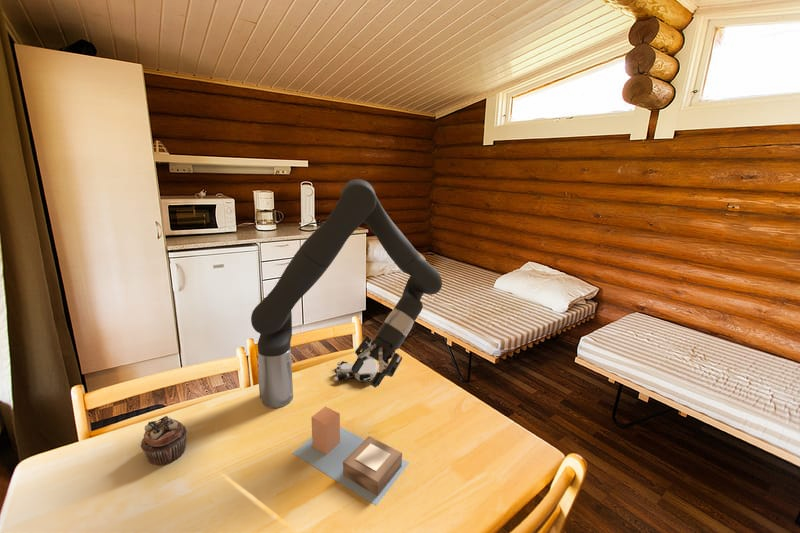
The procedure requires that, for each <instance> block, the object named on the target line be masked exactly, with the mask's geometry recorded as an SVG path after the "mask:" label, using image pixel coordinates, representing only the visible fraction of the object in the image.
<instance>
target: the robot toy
mask: <svg viewBox="0 0 800 533" xmlns="http://www.w3.org/2000/svg"><path fill="white" fill-rule="evenodd" d="M336 363H337V366H336V368H335V369H334V373H335V374H336V376H334V377H333V378H332V379H333V381H334V382H338V381H339V382H341V381H344V380H346V379H350V378H353V377H354V378H355V380H357V381H358V382H370V381H372V380H373V378H374V377H375V375H376V373H377V372H379V364H378V361H377V360H375V359H374V358H372V359H368V360H366V361H364V364H363V365H362V367H361V368H360V370H359V371H358V373H357V374H356V373H354V372H353V371H351V369H352V366H353V365H354V363H350V362H348V361H338V362H336Z"/></svg>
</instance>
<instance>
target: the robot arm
mask: <svg viewBox="0 0 800 533" xmlns="http://www.w3.org/2000/svg"><path fill="white" fill-rule="evenodd" d="M363 223H365V224H366V225H367V227H368V228H369V229H370V230H371V232H373V234H374V235H375V237H376V238H377V240H378V241H379V243H380V245H381V247H382V248H383V249H384V251H385V252H386V254H387V255H388V256H389V258H390V259H391V260H392V262H393V263H394V264H395V265H396V266H397V268H398V269H399V270H401V272H403V273H405V274H406V275H408V276H409V278H408V279H407V281H406V285H405V286H404V289H403V292H402V295H401V298H400V299H399V300H398V302H397V303H396V305H395V306H394V308H393V309H392V311H391V312H390V313H389V314H388V315H387V317H386V318H385V320H384V321H383V322H382V325H381V326H380V328H379V329H378V331H377V332H376V333H375V338H374V339H372V338H371V337H370V336H368V335H367V336H365V337H364V339H363V340H362V342H361V343H360V344H359V345H358V347H357V348H356V349H355V351H354V354H355V355H356V356H357V358H356V360H355V362H354V363H353V364H354V365H353V366H352V369H351V371H353V372H354V373H356V374H357V373H358V371H359V370H360V368H361V367H362V365H363V364H364V361H366V360H368V359H373V358H374V359H373V360H375V361H376V362H377V364H378V372H377V373H376V375H375V377H374V378H373V380H371V382H370V386H372V387H373V388H375V389H376V388H378V387H379V386H380V384H381V383H382V382H383V380H384V378H385V377H390V378H391V377H393V376H394V375H395V372H396V371H397V369H398V367H399V365H400V363H401V362H402V360H403V357H402V356H401V355H400V354H399V353H398V352H396V351H397V350H399V349H400V347H401V345H402V344H403V342H404V341H405V339H406V338H407V336H408V334H409V333H410V331H411V330H412V328H413V326H414V323H415V322H416V320H417V319H418V316H419V315H420V314H421V312H422V310H423V308H424V304H423V302H422V301H421V299H422V297H423V295H435V294H438V293H439V292H440V291H441V290H442V287H443V280H442V276H441V275H440V273H439V272H438V270H437V269H436V268H435V267H434V266H433V265H432V264H431V263H429V262H428V261H427V260H426V259H424V258H423V257H422V256H421V255H420V254H419V252H418V251H417V250H416V248H415V247H414V245H412V243H411V242H410V241H409V240H408V238H407V237H406V236H405V235H404V233H403V232H402V231H401V230H400V229H399V227H398V226H397V225H396V224H395V223H394V222H393V220H392V219H391V217H390V216H389V214H387V211H386V210H385V209H384V208H383V206H382V204H381V202H380V201H379V198H378V196H377V195H376V191H375V189H374V187H373V186H372V184H371V183H370V182H368V181H367V180H365V179H362V178H361V179H360V178H355V179H354V178H353V179H351V180H349V181H347V182H346V183H345V184H344V186H343V188H342V189H341V194H340V197H339V199H338V201H337V203H336V205H335V206H334V208H333V209H332V211H331V212H330V214H329V215H328V217H327V218H326V220H325V221H324V222H323V223H322V224H321V225H320V226H319V227H318V228H317V229H316V230H315V231H313V232H312V233H311V235H309V237H308V238H307V239H306V240H305V241H304V242H303V243H302V244H301V245H300V247H299V248H298V250H297V251H296V252H295V254H294V255H293V256H292V257H291V258H292V259H291V260H290V262H289V263H288V265H287V266H286V267H285V270H283V272H282V274H281V276H280V278H279V279H278V281H277V283H276V284H275V286H274V287H273V289H272V290H271V291H270V292H269V293H268V294H267V295H266V297H265V298H264V299H262V300H261V301H260V302H259V303H258V304H257V305H256V307H254V309H253V310H252V311H251V316H250V317H251V318H250V322H251V326H252V328H253V330H255V331H256V332H257V333H258V334H259V337H258V341H257V353H258V354H257V357H258V367H259V370H258V371H257V376H258V378H257V379H258V388H259V398H260V400H261V403H262V405H263V406H265V407H266V408H271V409H277V408H281V407H284V406H287V405H288V404H290V403H291V401H292V400H293V398H294V388H293V386H294V385H293V367H292V353H291V352H292V351H291V347H292V346H291V340H292V336H293V317H292V316H293V315H292V310H293V308H294V307H295V306H296V304H297V303H298V302H299V301H300V300H301V298H302V297H303V296H304V295H306V293H307V292H308V291H310V289H311V288H312V287H313V286H314V285H315V284H316V283H317V282H318V281H319V279H320V278H321V277H322V276H323V275H324V273H325V272H326V271H327V270H328V268H329V267H330V266H331V264H332V263H333V262H334V260H335V259H336V257H337V256H338V255H339V253H340V251H341V250H342V248H343V247H344V245H345V244H346V242H347V241H348V239H349V238H350V236H352V235H353V233H354V232H355V231H356V230H357V229H359V228H358V227H360V226H361V225H362V224H363Z"/></svg>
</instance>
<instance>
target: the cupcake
mask: <svg viewBox="0 0 800 533" xmlns="http://www.w3.org/2000/svg"><path fill="white" fill-rule="evenodd" d="M187 433H188V431H187V428H186V427H185V425H184V424H183V423H181V422H180V421H178V420H176V419H173V418H171V417H168V416H167V415H166V416H163V417H161V418H159V419H158V420H152V421H148V424H146V425H144V434H143V438H142V440H141V442H140V443H141V444H140V448H141V450H142V451H143V453H144V454H145V456H146V459H147V461H148V462H149V463H150V464H151V465H153V466H157V467H160V466H166V465H169V464H171V463H173V462H174V461H177V460H178V459H180V458H181V457H182V456H183V454H185V451H186V447H187V446H186V444H187V443H186V442H187V435H188V434H187Z"/></svg>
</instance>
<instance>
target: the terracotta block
mask: <svg viewBox="0 0 800 533" xmlns="http://www.w3.org/2000/svg"><path fill="white" fill-rule="evenodd" d="M340 427H341V414H340V412H337V411H335V410H333V409H332V408H329V407H327V405H326V406H323V407H322V408H321V409H320V410H319V411H317V412H316V413H315V414H314V415H312V416H311V437H312V446H313V447H314V448H316V449H318V450H320V451H321V452H323V453H325V454H326V455H327V454H328V453H329V452H330V451H332V450H333V449H334V448H335V447H336V446H337V445H338V444H339V443H340Z"/></svg>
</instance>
